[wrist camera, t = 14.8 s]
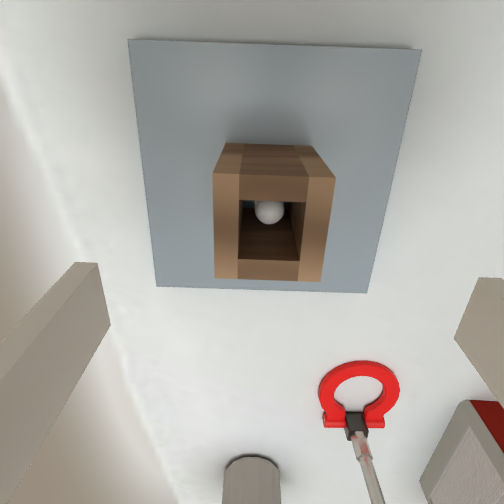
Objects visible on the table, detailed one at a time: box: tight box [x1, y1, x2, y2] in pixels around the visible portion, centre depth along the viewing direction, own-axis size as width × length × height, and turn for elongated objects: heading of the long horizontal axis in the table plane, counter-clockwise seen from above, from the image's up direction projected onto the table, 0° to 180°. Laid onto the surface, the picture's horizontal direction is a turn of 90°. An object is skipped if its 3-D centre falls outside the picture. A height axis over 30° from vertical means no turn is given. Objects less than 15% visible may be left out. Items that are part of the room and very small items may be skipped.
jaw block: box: [212, 143, 336, 282], centre depth 22 cm, size 6×6×8 cm
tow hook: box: [319, 361, 400, 504], centre depth 32 cm, size 8×13×9 cm
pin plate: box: [128, 39, 422, 293], centre depth 23 cm, size 18×18×7 cm
